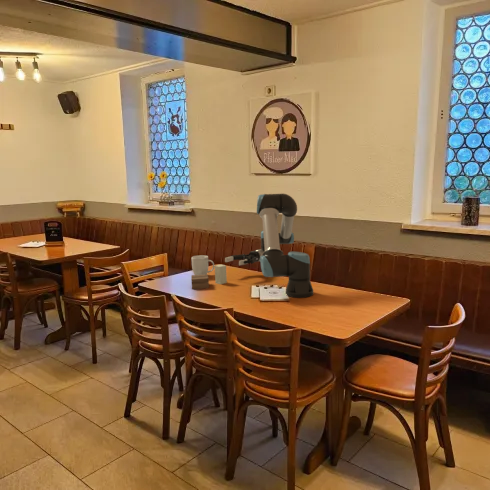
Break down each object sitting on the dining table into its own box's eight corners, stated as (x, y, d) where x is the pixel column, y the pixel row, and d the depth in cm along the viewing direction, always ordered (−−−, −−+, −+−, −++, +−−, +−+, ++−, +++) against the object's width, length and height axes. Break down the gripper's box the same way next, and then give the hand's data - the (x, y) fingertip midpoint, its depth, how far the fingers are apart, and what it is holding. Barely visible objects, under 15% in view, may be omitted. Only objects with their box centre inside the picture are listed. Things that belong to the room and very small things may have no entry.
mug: (213, 273, 295) (212, 254, 293) (216, 276, 284) (215, 257, 282) (191, 275, 292) (190, 256, 290) (193, 278, 281) (192, 259, 279)
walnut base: (208, 288, 258) (208, 278, 257) (192, 289, 257) (191, 279, 256) (208, 283, 268) (207, 274, 267) (191, 284, 267) (191, 275, 266)
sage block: (226, 282, 268) (226, 265, 267) (220, 284, 265) (219, 266, 263) (221, 281, 272) (220, 264, 270) (215, 283, 269) (214, 265, 267)
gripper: (270, 264, 279) (245, 270, 265) (244, 258, 297) (220, 264, 283) (269, 252, 278) (245, 258, 264) (243, 248, 296) (219, 253, 282)
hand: (232, 261), depth 273 cm, fingers open, 13 cm apart
